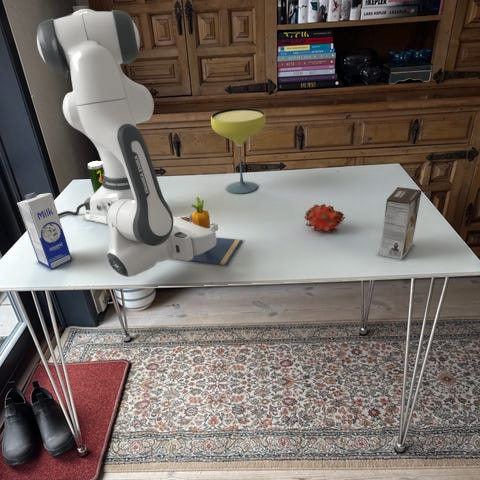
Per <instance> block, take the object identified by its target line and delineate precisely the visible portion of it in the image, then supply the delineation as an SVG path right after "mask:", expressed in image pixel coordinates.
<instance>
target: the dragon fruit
mask: <svg viewBox="0 0 480 480" xmlns="http://www.w3.org/2000/svg"><path fill="white" fill-rule="evenodd" d="M304 219H305V221H307V222H306V224H305V226H306V227H309V228H313V229H314V231H318V232H319V233H320V234H323V232H324V231H327V232H331V233H332V232H334V231H336V230H337V227H338V226H339V225H341V223H342V222H343V221H344V220H345V219H346V216H345V214H344V213H343V212H342V211H339V210H335V209H334V206H333V205H328V206H327V204H325V203H323V204H321V205H319V204H313V206H312V207H310V208H309V209H308V210H307V211H305V216H304Z"/></svg>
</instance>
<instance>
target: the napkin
mask: <svg viewBox="0 0 480 480" xmlns="http://www.w3.org/2000/svg"><path fill="white" fill-rule="evenodd" d="M242 242H243V241H242V239H235V238H227V237H226V238H224V237H216V245H215V246H214V247H213V248H211V249H209V250H208V251H206V252H204V253H202V254H199V255H193V259H192V260H190V261H189V262H195V263H203V264H214V265H222V266H228V265H229V263H230V261H231V259H232V257H233V256H234V254H235V253H236V251H237V249H238V248H239V247H240V245H241V243H242ZM175 260H176V261H179V260H178V259H175Z"/></svg>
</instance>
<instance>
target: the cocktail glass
mask: <svg viewBox="0 0 480 480" xmlns="http://www.w3.org/2000/svg"><path fill="white" fill-rule="evenodd" d="M266 119H267V118H266V113H265V111H264V110H262V109H259V108H254V107H253V108H252V107H235V108H227V109H222V110H219V111H216V112H214V113H213V114H212V115H211V116H210V123H211V128H212V130H213V131H214V132H215V133H216V134H217V135H219V136H221V137H224V138H226V139H228V140H231V141H232V142H233V143H234V144H235V145H236V146H237V147H238V154H239V157H238V158H239V171H240V172H239V181H236V182H232V183H230V184H229V185H227V187H226V189H227V191H228V192H229V193H232V194H238V195H241V194H242V195H243V194H249V193H252V192H254V191H256V190H257V188H258V185H257V184H256V183H255V182H252V181H244V176H243V163H242V146H243V145H244V144H245V143H246V142H247V140H248V139H250V138H251V137H253V136H255V135H257V134H259V133H260V132H261V131H262V130H263V129H264V128H265V126H266V122H267V120H266Z"/></svg>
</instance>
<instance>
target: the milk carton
mask: <svg viewBox="0 0 480 480" xmlns="http://www.w3.org/2000/svg"><path fill="white" fill-rule="evenodd" d="M24 198H25V199H24V200H22V201H19V202H17V203H16V204H17V206H18V209H19V212H20V215H21V217H22V221H23V223H24V226H25V229H26V231H27V234H28V237H29V240H30V243H31V246H32V247H33V248H32V249H33V251H34V254H35V257H36V260H37V263H38V264H40V265H42V266H43V267H45V268H47V269H49V270H53V269H55V268H57V267H60V266H62V265H64V264H66V263H68V262H70V261H72V260H73V259H72V255H71V251H70V249H69V245H68V242H67V240H66V239H67V238H66V236H65V232H64V230H63V226H62V223H61V219H60V216H58V214H59V212H58V210H57V207H56V203H55V200H54V196H53V194H52V193H50V192H46V193H41V194H38V195H37V193H36V191H35V192H30V193H28V194H25V195H24Z"/></svg>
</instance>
